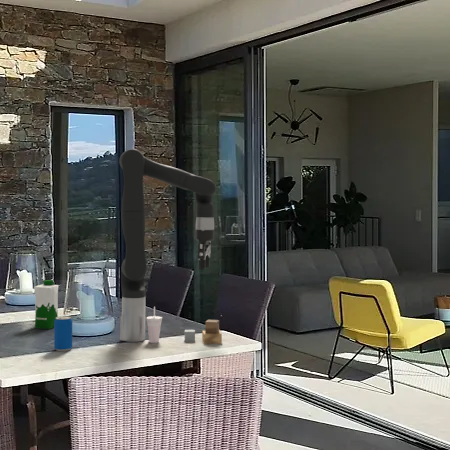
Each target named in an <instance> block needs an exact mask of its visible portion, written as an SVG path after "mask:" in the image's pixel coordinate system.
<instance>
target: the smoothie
mask: <svg viewBox="0 0 450 450" xmlns="http://www.w3.org/2000/svg"><path fill="white" fill-rule="evenodd" d="M162 321H163V316H158V315H156V306H153V316H152V315H150V316H147V317H146V316H145V322H146V325H147V333H148V334H147V335H148V343H150V344H157V343H159V341H160V333H161V325H162Z"/></svg>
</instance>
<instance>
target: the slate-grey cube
mask: <svg viewBox="0 0 450 450" xmlns="http://www.w3.org/2000/svg"><path fill="white" fill-rule="evenodd" d="M184 342H187V343H190V342H192V343H193V342H194V343H196V330H195V329H184Z"/></svg>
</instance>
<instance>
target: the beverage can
mask: <svg viewBox="0 0 450 450" xmlns="http://www.w3.org/2000/svg"><path fill="white" fill-rule="evenodd" d="M53 329H54V332H53V333H54V334H53V336H54V337H53V338H54V339H53V340H54V346H53V347H54V350H56V351H57V352H69V351H71V349H72V348H73V320H72V317H71V316H70V315H69V316H67V315H66V316H64V315H61V316H58V317H56V319H55V321H54V328H53Z"/></svg>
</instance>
